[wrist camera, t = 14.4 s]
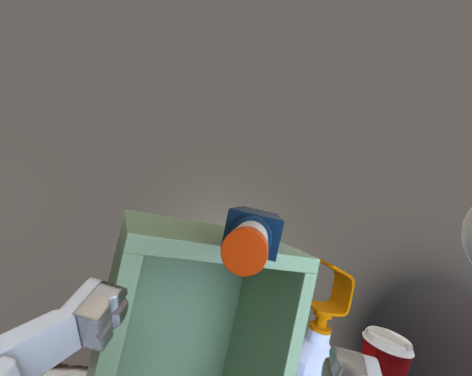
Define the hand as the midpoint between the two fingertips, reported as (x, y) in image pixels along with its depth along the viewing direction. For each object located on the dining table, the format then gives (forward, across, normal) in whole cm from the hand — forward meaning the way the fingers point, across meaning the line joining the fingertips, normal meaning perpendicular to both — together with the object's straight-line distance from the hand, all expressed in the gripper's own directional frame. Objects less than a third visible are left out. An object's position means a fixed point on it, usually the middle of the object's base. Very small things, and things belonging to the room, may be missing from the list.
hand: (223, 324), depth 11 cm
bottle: (+12, 0, +6) cm, 13 cm away
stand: (+3, +4, +32) cm, 32 cm away
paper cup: (+20, -25, +42) cm, 53 cm away
